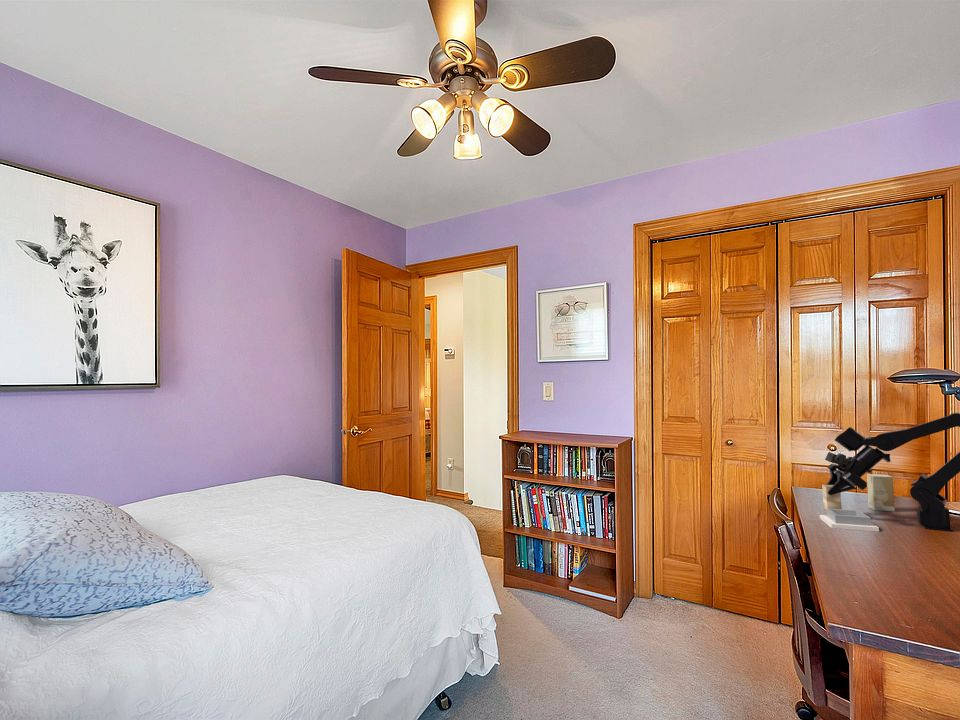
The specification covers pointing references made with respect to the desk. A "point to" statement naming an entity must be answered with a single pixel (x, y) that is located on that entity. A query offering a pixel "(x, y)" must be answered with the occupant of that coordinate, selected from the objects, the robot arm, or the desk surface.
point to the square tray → (848, 520)
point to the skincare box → (880, 492)
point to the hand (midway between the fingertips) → (826, 492)
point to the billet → (831, 499)
